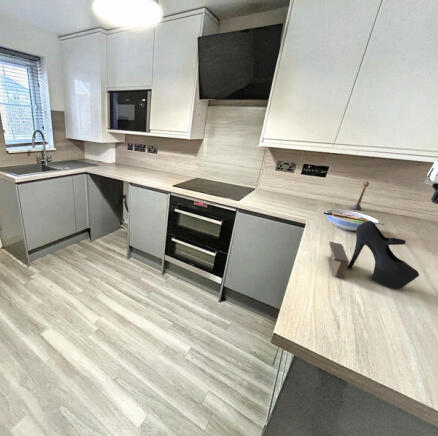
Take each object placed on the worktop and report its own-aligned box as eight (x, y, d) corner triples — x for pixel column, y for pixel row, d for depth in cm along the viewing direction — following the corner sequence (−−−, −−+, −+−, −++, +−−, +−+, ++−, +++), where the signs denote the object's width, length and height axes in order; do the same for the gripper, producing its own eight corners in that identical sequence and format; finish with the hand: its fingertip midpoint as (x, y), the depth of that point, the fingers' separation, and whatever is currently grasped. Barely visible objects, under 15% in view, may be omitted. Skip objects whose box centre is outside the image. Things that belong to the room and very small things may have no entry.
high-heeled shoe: (406, 296, 76) (437, 241, 69) (337, 267, 91) (357, 219, 83) (412, 288, 80) (442, 236, 73) (346, 262, 95) (365, 216, 87)
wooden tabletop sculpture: (361, 211, 162) (373, 182, 155) (352, 209, 164) (364, 181, 157) (359, 209, 167) (370, 181, 159) (351, 207, 169) (362, 180, 162)
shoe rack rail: (335, 259, 97) (341, 244, 94) (341, 278, 84) (349, 261, 81) (324, 256, 99) (329, 241, 96) (328, 274, 86) (334, 258, 83)
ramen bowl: (371, 227, 133) (377, 214, 130) (380, 242, 115) (387, 226, 112) (318, 217, 145) (322, 204, 142) (319, 228, 127) (324, 214, 124)
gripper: (438, 147, 76) (411, 201, 82) (511, 152, 69) (475, 210, 76) (427, 146, 82) (403, 196, 88) (493, 150, 75) (461, 204, 82)
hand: (436, 203), depth 82 cm, fingers closed
